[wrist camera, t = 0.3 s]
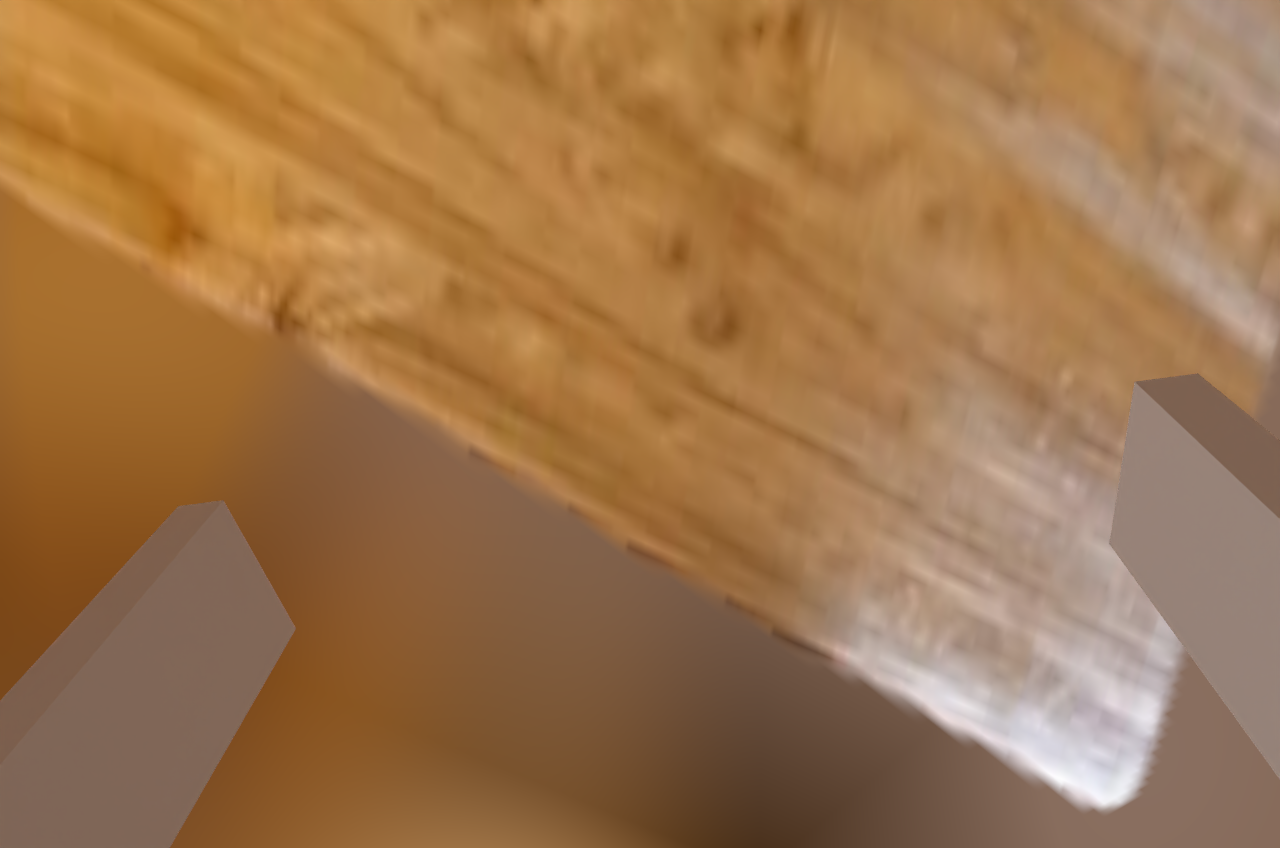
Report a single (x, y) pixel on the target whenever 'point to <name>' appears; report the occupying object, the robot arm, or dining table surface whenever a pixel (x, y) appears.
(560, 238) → the dining table surface
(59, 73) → the dining table surface
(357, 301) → the dining table surface
